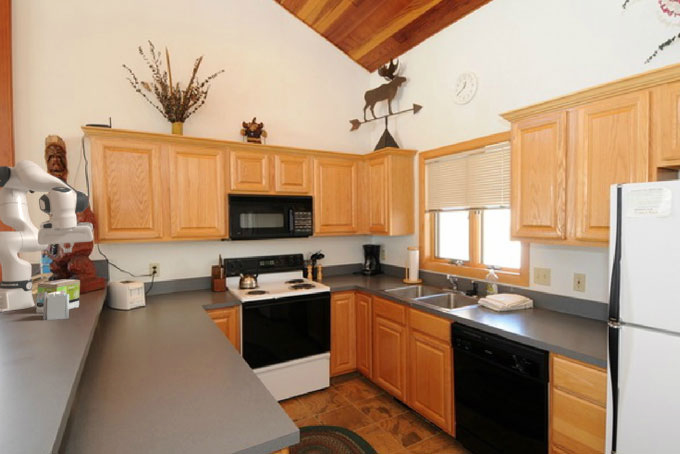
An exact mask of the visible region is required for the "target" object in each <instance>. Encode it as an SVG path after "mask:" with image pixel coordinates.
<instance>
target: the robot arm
mask: <svg viewBox="0 0 680 454" xmlns="http://www.w3.org/2000/svg"><path fill="white" fill-rule="evenodd" d="M0 188H1V189H0V221H1V222H2V224H4V225H5V226H8V227H11V228H12V229H14V231H7V230H5V231H1V230H0V266H1V274H2V275H1V276H2V277H1V279H2V280H1V281H0V312H9V311H15V310H17V311H18V310H23V309H24V310H25V309H29V308H32V307H35V305H36V304H35V301H34V298H33V291H32V288H33V279H32V271H33V270H32V267H33V266H32V264H31V263H30V262H29V261H27V260H25V259H22V258H19V256H18V254H19V253H20V254H21V253H22V254H23V253H36V252H41V251H44V250H47V248H48V247H49V245H57V244H58V245H59V247H60V248H61V249H62V250H63V253H64V254H65V253H72V252H73V247H74V245H75V243H88V242H89V243H90V242H92V241H94V234H93V230H94V225H93V224H92V223H91V222H89V221H85V222H84V221H83V222H81V221H80V222H79V221H78V220H77V219H78V218H77V214H76V213H84V212H85V211H86V210H87V209H88V208H89V198H88V197H87V196H86V195H85V193H83V192H81V191H78V190H77V189H76V188H74V187H72V185H70V184H68V182H65V180H63V179H61V178H59V177H56V176H55V175H51V174H50V173H48V172H47V171H46V170H45V169H44V168H43V167H41V166H40V165H39V164H37V163H36V162H34V161H32V160H29V159H25V160H20V161H18V162H16V164H15V165H14V167H13V166H7V165H0ZM28 192H29V193H31V194H35V192H37V193H38V192H40V193H45V194H43V195H41V196H40V197H39V199H38V205H39V206H38V207H39V210H41V211H42V212H44V214H47V215H48V214H49V215H52V216H51V219H49V220H46V221H42V222H41V223H40V224H39V228H40V230H39V229H38V228H37V227H36V226H35V225H34V223H33V222H32V220H31V217H30V212H29V207H28V199H27V194H28ZM65 244H69V246H70V247H65V246H64V245H65Z"/></svg>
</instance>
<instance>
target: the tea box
mask: <svg viewBox="0 0 680 454" xmlns="http://www.w3.org/2000/svg"><path fill="white" fill-rule="evenodd" d="M80 288H81V280H80V279H66V278H65V279H64V278H63V279H57V280H50V281H44V282H39V283H37V291H36V293H37V294H36V313H37V314H40V313H41V314H43V296H44V292H47V294H48V293H53V292H58V291H59V292H60V294H61V293H65V296H66V294H69V310H71V309H75V308H79V306H80V290H81V289H80Z"/></svg>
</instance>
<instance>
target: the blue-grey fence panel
mask: <svg viewBox="0 0 680 454" xmlns="http://www.w3.org/2000/svg"><path fill="white" fill-rule="evenodd" d="M69 313H70V309H69V294H66V296H65V293H61V294H55V297H54V294H49V297H48V308H47V319H46V321H49V320H51V321H52V320H68V319H69V317H70V316H69V315H70V314H69Z"/></svg>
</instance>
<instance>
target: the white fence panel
mask: <svg viewBox="0 0 680 454" xmlns="http://www.w3.org/2000/svg"><path fill="white" fill-rule="evenodd" d="M49 294H54V297H55V294H60V292H59V291H58V292H53V293H48V294H47V292H44V296H43V313H42V320H43V321H47V308H48V297H49Z"/></svg>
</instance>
